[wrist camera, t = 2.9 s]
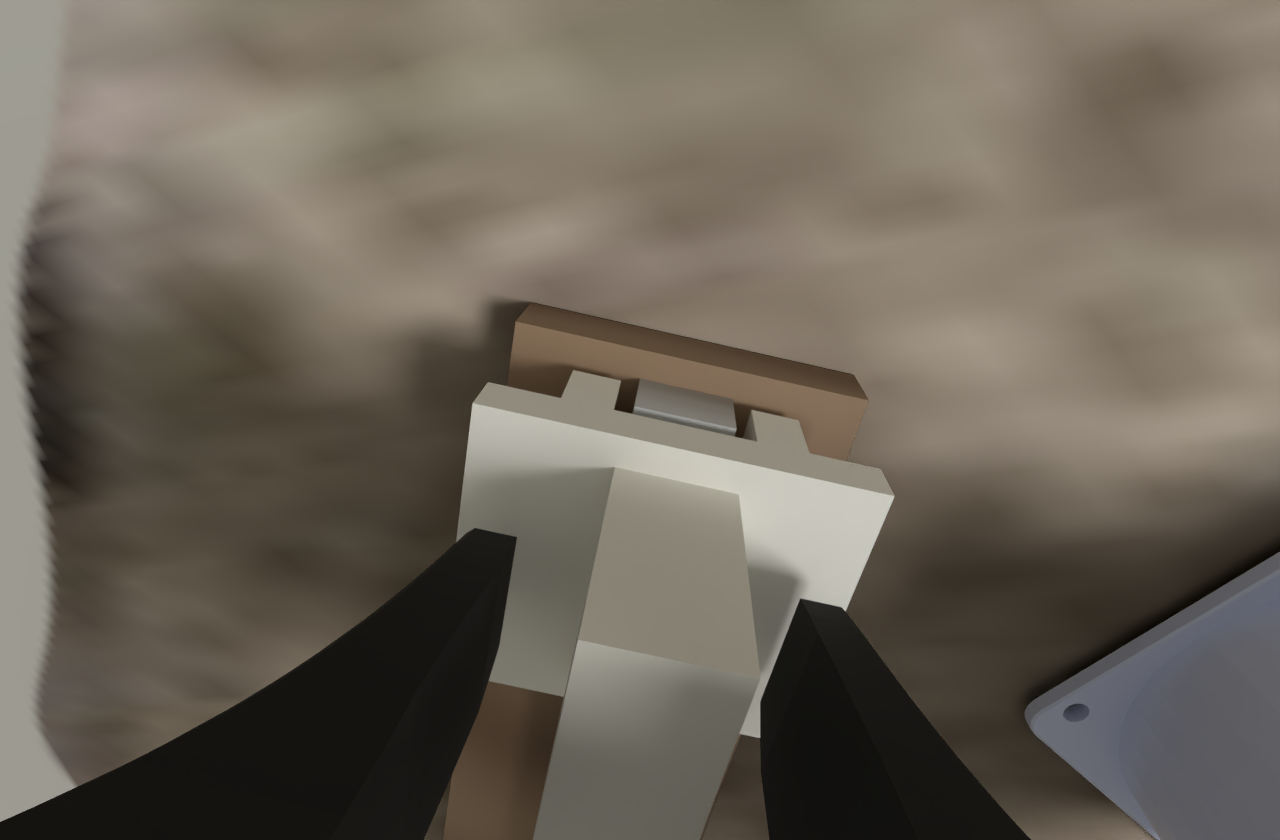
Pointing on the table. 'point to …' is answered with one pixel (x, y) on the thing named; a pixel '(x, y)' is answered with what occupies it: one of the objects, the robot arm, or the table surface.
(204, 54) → the table surface
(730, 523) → the carriage
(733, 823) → the table surface
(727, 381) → the rail board
